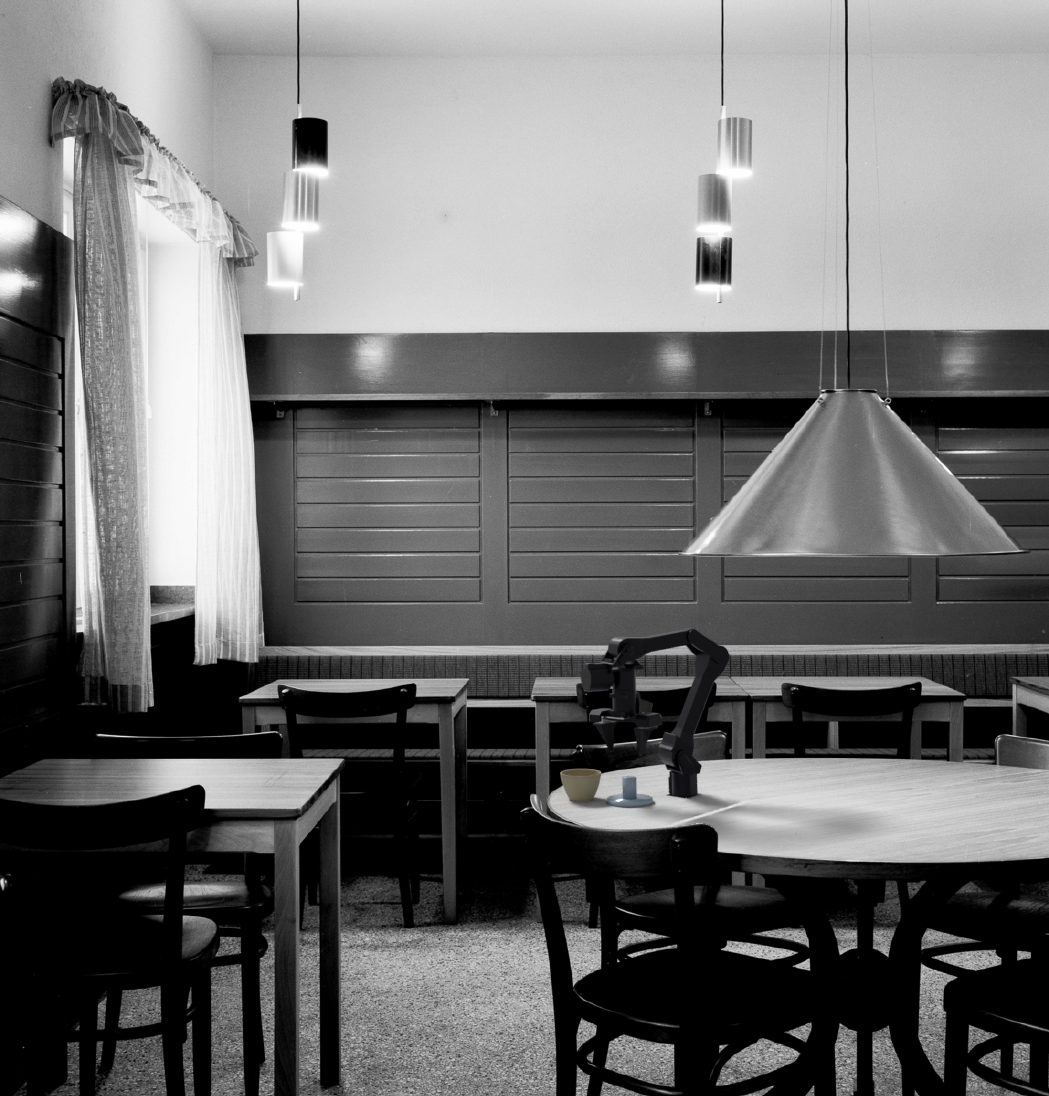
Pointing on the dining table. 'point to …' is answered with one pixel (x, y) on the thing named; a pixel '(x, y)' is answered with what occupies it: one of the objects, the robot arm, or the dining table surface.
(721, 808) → the dining table surface
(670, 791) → the robot arm
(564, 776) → the flower pot
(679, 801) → the dining table surface
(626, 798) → the lid
